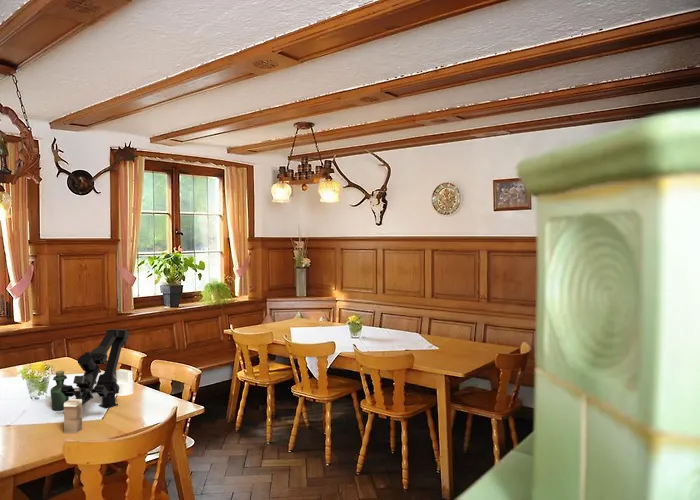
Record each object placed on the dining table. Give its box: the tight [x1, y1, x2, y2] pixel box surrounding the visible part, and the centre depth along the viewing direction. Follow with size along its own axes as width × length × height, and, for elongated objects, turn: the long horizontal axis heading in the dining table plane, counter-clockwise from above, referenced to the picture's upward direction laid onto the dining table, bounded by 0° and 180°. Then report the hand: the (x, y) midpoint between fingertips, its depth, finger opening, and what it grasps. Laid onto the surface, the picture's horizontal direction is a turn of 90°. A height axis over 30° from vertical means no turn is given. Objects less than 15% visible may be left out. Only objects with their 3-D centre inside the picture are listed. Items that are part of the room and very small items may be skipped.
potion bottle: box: [50, 370, 70, 412], centre depth 245 cm, size 8×8×18 cm
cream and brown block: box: [63, 398, 83, 435], centre depth 217 cm, size 5×5×13 cm
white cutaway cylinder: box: [115, 368, 135, 397], centre depth 270 cm, size 9×9×12 cm
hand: (77, 409), depth 221 cm, fingers closed
